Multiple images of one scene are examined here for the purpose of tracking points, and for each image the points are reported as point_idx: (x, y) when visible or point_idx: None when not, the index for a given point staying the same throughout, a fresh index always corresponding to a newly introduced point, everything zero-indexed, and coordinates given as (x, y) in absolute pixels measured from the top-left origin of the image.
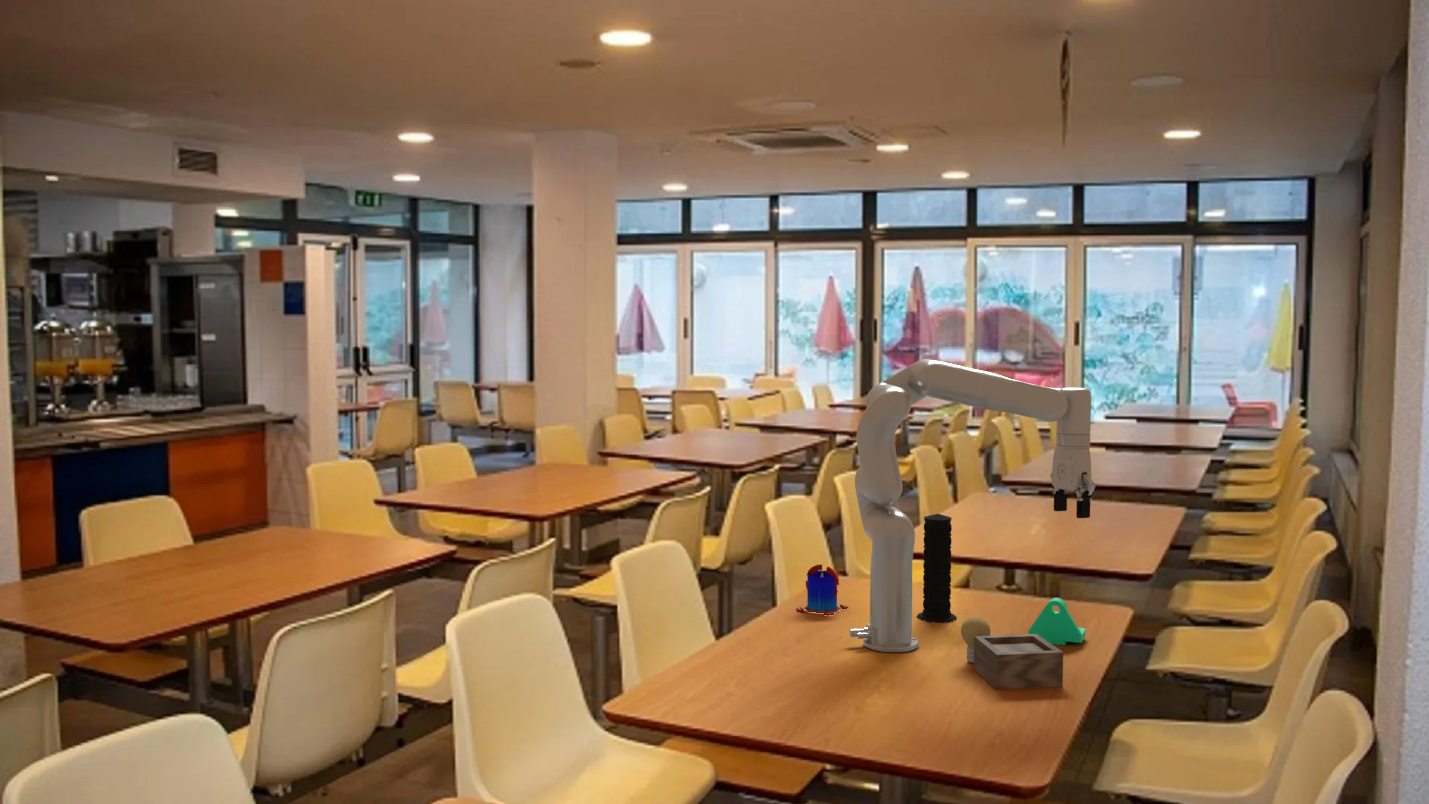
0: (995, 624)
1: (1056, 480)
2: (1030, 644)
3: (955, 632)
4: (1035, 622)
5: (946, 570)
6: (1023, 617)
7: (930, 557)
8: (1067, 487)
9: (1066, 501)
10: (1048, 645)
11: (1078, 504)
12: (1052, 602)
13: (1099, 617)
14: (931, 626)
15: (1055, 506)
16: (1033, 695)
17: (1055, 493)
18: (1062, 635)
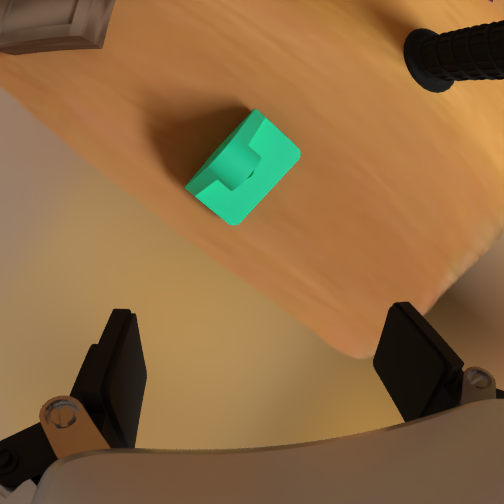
0: (371, 120)
1: (480, 471)
2: (63, 17)
3: (346, 25)
4: (247, 118)
5: (475, 51)
6: (390, 196)
7: (499, 22)
8: (167, 482)
9: (393, 397)
10: (18, 34)
11: (89, 373)
12: (224, 148)
13: (338, 312)
14: (389, 17)
15: (406, 318)
16: None
17: (462, 377)
18: (208, 159)
